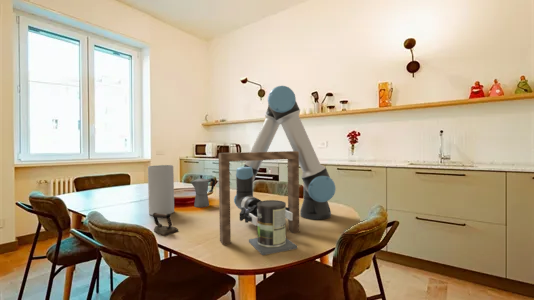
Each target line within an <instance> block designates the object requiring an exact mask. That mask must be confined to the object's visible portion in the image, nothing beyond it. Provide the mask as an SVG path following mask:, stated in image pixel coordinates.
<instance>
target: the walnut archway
mask: <svg viewBox="0 0 534 300" xmlns="http://www.w3.org/2000/svg"><path fill="white" fill-rule="evenodd" d="M255 160H263V161H274V160H275V161H277V160H287V207H288V208H289V211H290V212H292V213H293V220H292V221H290V220H289V219H287V220H288V221H287V226H288V227H287V229H288V231H289V232H290V233H292V234H296V233H300V165H299V151H293V150H292V151H290V150H289V151H282V150H281V151H267V152H251V151H249V152H247V151H246V152H245V151H243V152H219V153H218V198H219V199H218V200H219V201H218V202H219V203H218V205H219V207H218V208H219V209H218V210H219V213H218V214H219V242H220V243H221V245H223V246H224V245H229V244H232V242H231V235H232V233H231V184H230V183H231V177H230V175H231V173H230V170H231V169H230V166H231V165H230V162H246V161H255Z"/></svg>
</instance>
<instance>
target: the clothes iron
mask: <svg viewBox="0 0 534 300" xmlns="http://www.w3.org/2000/svg"><path fill="white" fill-rule="evenodd" d="M152 218H153V221H154V223H155V226H154V228H153V231H154V233H156V234H157V235H160V236H162V237H166V236H168V235H169V236H170V235H171V234H174V233H177V232H179V229H178V228H177V227H176V226H173V221H172V220H171V214H158V213H154V214H153V215H152ZM159 219H165V220H166V222H167V224H168V225H162V224H161V223H160V222H159Z"/></svg>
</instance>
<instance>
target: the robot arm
mask: <svg viewBox="0 0 534 300" xmlns="http://www.w3.org/2000/svg"><path fill="white" fill-rule="evenodd" d="M267 104H268V106H267V110H266V112H265V114H264V116H265V119H264V121H263V123H262V126H261V128H260V130H259V132H258V134H257V136H256V139H255V141H254V144H253V145H252V148H251V150H250V152H269V149H270V146H271V145H272V142H273V140H274V137H275V135H276V133H277V131H278V129H279V127H280V125H281V126H282V129H283V131H284V134H285V136H286V138H287V140H288V142H289V145H290V146H291V149H292V151H299V168H300V169H301V170H302V171H301V172H302V174H301V176H300V178H301V179H302V182H303V201H302V205H301V208H300V209H299V216H301V217H302V218H304V219H309V220H325V219H330V218H331V217H332V210H331V208H330V205H329V202H328V201H331V200H332V199H333V197H334V195H335V193H336V189H337V187H336V184H335V182H334V180H333V179H332V177H330V175H329V171H328V170H327V168H326V166H324V165H322V164H321V163H320V161H319V158H318V156H317V153H316V151H315V148H314V147H313V145H312V142H311V140H310V138H309V135H308V134H307V131H306V129H305V127H304V125H303V123H302V120H301V118H300V112H301V109H300V107H299V105H298V102H297V99H296V94H295V92H294V91H293V89H292V88H290V87H289V86H286V85H278V86H275V87H274V88H272V89H271V91H270V92H269V94H268V96H267ZM263 161H264V160H255V161H245V163H244V165H243V166H240V167H237V168H236V171H235V172H236V173H235V176H236V178H235V182H236V194H235V196H234V198H233V202H234V205H235V206H236V207H237V208H238V209H239V210H240V211H239V221H240V222H242V221H244V223H245V224H247V223H249V222H250V223H251V224H252V225H254V226H255V227H256V226H257V224H258V223H257V203H258V202H260V201H262V200H261V199H259V198H257V197H255V196H254V181H255V179H256V176H257V175H258V172H259V170H260V167H261V165H262V163H263ZM285 219H287V220H288V219H289V220H290V221H292V220H293V213H292V212H290V211H289V208H288V206H285ZM257 227H258V226H257Z"/></svg>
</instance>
